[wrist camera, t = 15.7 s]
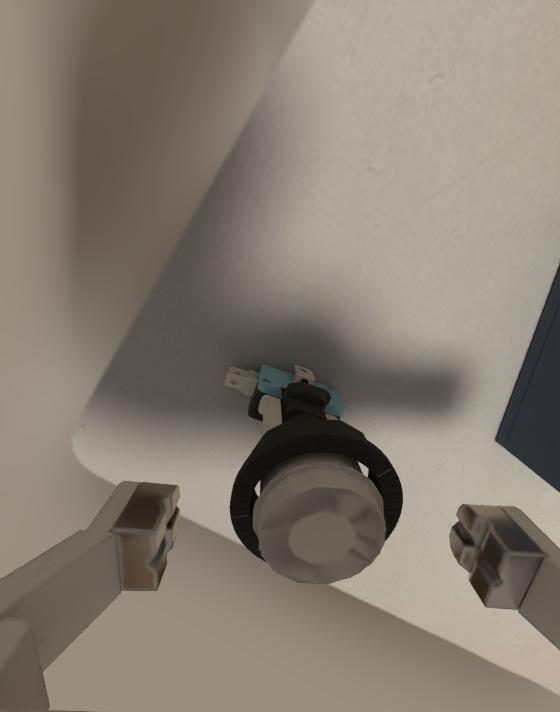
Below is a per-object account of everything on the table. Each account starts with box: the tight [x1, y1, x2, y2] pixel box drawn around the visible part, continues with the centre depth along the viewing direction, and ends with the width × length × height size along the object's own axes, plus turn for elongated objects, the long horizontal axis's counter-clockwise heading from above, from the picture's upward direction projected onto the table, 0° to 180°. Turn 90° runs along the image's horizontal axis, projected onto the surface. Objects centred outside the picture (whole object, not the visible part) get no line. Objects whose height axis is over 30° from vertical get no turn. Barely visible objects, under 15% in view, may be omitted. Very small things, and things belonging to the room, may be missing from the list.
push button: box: [224, 365, 403, 584], centre depth 13 cm, size 7×5×10 cm
